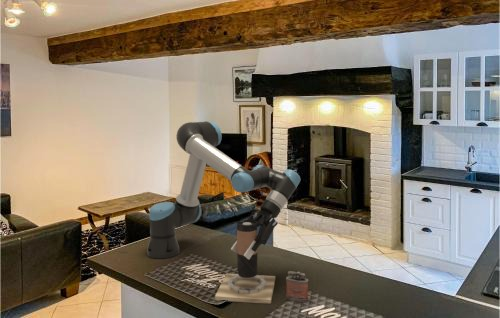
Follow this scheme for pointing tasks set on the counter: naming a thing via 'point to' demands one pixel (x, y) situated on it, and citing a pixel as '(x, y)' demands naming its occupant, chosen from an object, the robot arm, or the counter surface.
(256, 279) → the dock collar
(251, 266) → the travel mug
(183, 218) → the robot arm
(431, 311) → the counter surface
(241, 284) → the dock board
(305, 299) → the lighter
